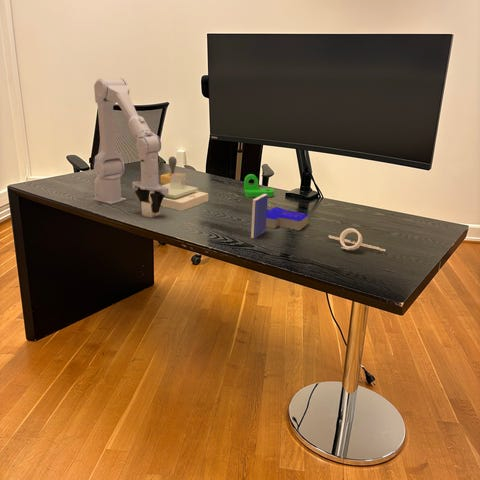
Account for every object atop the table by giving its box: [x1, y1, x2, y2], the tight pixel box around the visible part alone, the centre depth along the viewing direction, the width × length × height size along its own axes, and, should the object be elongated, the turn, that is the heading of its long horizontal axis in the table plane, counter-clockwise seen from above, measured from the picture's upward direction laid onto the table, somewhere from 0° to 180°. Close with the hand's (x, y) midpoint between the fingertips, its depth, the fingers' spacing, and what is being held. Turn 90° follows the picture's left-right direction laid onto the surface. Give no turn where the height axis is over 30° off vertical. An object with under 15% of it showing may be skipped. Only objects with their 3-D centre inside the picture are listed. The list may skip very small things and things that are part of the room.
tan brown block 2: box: [170, 172, 187, 189], centre depth 178 cm, size 4×4×5 cm
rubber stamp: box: [160, 156, 177, 185], centre depth 200 cm, size 10×6×12 cm, turn 53°
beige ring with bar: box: [328, 227, 386, 253], centre depth 138 cm, size 18×10×7 cm
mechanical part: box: [243, 173, 275, 198], centre depth 190 cm, size 12×6×8 cm, turn 98°
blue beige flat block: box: [266, 206, 309, 231], centre depth 157 cm, size 11×15×5 cm
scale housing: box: [149, 190, 209, 212], centre depth 177 cm, size 18×16×4 cm
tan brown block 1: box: [140, 199, 161, 218], centre depth 161 cm, size 4×4×5 cm
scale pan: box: [150, 183, 199, 198], centre depth 177 cm, size 13×14×1 cm
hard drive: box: [250, 194, 269, 239], centre depth 145 cm, size 2×8×12 cm, turn 152°
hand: (150, 211), depth 161 cm, fingers closed on tan brown block 1, 4 cm apart
